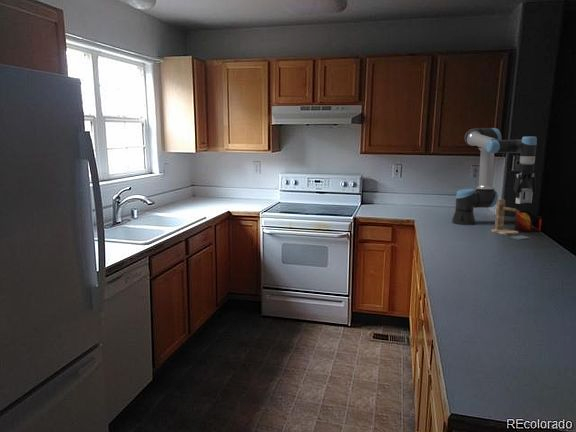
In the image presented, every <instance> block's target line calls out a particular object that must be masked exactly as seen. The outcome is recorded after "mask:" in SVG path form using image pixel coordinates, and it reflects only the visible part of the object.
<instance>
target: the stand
mask: <svg viewBox="0 0 576 432" xmlns="http://www.w3.org/2000/svg"><path fill="white" fill-rule="evenodd" d="M495 206H496V207H495V208H496V209H495V220H494V222H495V223H494V228H492V229H490V232H493V233H496V234H501V235H505V236H510V235H511V236H512V235H519V234H520V233H519V232H520V231H517V230H512V229H508V228H504V222H505V214H506V213H505V212H506V211H508V212H512V213H513V212H514V213H516V212H517V211H518V209H517V208H515V207H514V208H513V207H508V206H506V199H498V200H497V203H496V205H495Z"/></svg>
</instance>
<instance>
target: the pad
mask: <svg viewBox="0 0 576 432" xmlns="http://www.w3.org/2000/svg"><path fill="white" fill-rule="evenodd" d="M510 239H514V240H517V241H520V240H529V239H531V237H529V236H525V235H513V236H510Z"/></svg>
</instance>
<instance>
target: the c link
mask: <svg viewBox="0 0 576 432" xmlns="http://www.w3.org/2000/svg"><path fill="white" fill-rule="evenodd" d="M520 192H521V203H520V204H526V203H529V204H532V203H531V197H532V198H533V196H532V189H530V188H528V187H527V188H525V187H524V188H522V189H521V191H520ZM524 193H525V194H524Z"/></svg>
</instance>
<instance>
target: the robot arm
mask: <svg viewBox="0 0 576 432" xmlns="http://www.w3.org/2000/svg"><path fill="white" fill-rule="evenodd" d="M537 138H538V137H537V136H529V135H528V136H522V138H521V139H502V134H501V131H500V130H499V129H498V128H495V127H477V128H476V127H475V128H471V129H469V130H468V131H467V132H465V134H464V143H466V144H467V145H468V146H471V147H474V146H477V147H478V150H479V151H480V154H479V155H480V157H479V172H478V176H479V177H478V186H476V188H463V189H459V190H457V191H456V195H455V209H454V211H455V212H454V214H453V217H451V222H452V224H455V225H463V226H465V225H471V226H472V225H475V224H476V219H475V213H474V209H475V208H477V209H479V208H480V209H481V208H483V209H485V208H486V209H487V208H488V209H489V208H493V207H495V206H496V205H497V200H499V194H498V192H497V191H496V190H495V187H494V186H493V184H494V183H493V180H494V164H495V163H494V162H495V154H498V153H499V154H502V153H503V154H504V153H505V154H506V153H507V154H508V153H509V154H516V153H519V154H520V155H519V156H520V158H519V167H518V169H519V171H520V172H519V173H516V174H515V179H514V185H513V188H512V190H513V192H514V193H515V204H519V205H520V204H522V203H521V192H520V191H521V189H523V186H524V184H525V182H526V184H527V188H530V189H532V197H531V203H530V204H532V202H533V194H534V192H536V190H537V176H538V175H537V173H536V172H533V171H535V166H536V165H535V163H536V162H535V161H536V153H537V145H538V142H537V141H538V139H537Z"/></svg>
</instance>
